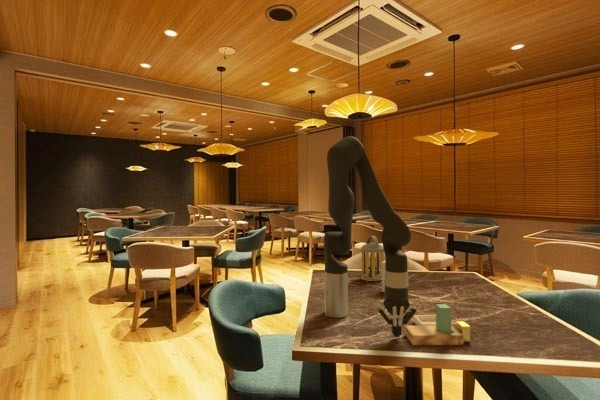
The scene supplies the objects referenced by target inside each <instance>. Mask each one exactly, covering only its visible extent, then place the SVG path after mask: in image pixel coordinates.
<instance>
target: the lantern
mask: <svg viewBox="0 0 600 400" xmlns="http://www.w3.org/2000/svg"><path fill="white" fill-rule="evenodd" d="M372 239H373V242H371V240H372ZM360 252H361V275H360V277H361V278H363V279H367V280H382V275H381V263H382V262H383V261H385V253H384V249H383V244H379V240H378V238H377V236H375V235H369V236H368V237H367V239H366V243H365V244H363V245H362V246H361V247H360ZM369 253H370V256H369ZM375 254H376V256H375ZM369 257H370V258H369ZM360 277H359V278H360Z"/></svg>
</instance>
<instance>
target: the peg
mask: <svg viewBox="0 0 600 400" xmlns="http://www.w3.org/2000/svg"><path fill="white" fill-rule="evenodd" d="M435 315H436V328H437V329H438V330H439V331H440V332H441V333H451V325H452V307H450V306H449V305H448V304H445V303H443V304H442V303H440V304H439V303H438V304H436V303H435Z"/></svg>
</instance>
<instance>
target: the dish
mask: <svg viewBox="0 0 600 400" xmlns="http://www.w3.org/2000/svg"><path fill="white" fill-rule="evenodd" d="M412 319H413V320H412V322H413V323H414V324H415V325H436V314H414V315H413V317H412Z"/></svg>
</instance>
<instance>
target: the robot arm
mask: <svg viewBox="0 0 600 400" xmlns="http://www.w3.org/2000/svg"><path fill="white" fill-rule="evenodd" d="M326 154H327V155H326V162H327V163H326V164H327V172H328V173H327V175H328V208H327V209H328V214H329V216H330V218H331V219H332V221H333V222H334V223H335V224H336V225H337V226H338V227H339V228H340V230H341V231H327V232H325V233H324V235H323V250H324V251H323V252H324V290H323V293H324V294H323V295H324V315H325V317H329V318H333V319H334V318H336V319H339V318H346V317H348V316H349V291H348V290H349V289H348V288H349V287H348V286H349V282H348V281H349V279H348V278H349V276H348V275H349V273H348V270H349V269H348V264H347V263H345V262H342V261H339V260H337V259H336V258H334V257H333V256H335V255H336V256H339V255H340V256H342V255H348V254H349V253H350V251H351V249H352V230H353V229H352V228H353V227H352V226H353V225H352V224H353V219H354V218H353V217H354V210H355V200H356V199H355V195H354V192H353V190H352V189H351V188H350V186H349V183H348V181H349V174H350V172H351V169H352V168H354V169H355V171H356V173H357V175H358V178H359V181H360V187H361V193H362V199H363V203H364V205H365V206H366V208H367V210H368V212H369V213H370V215H371V216H372V218H373V220H374V221H375V222H376V223H377V224H379V225H381V226H382V228H383V229H382V232H381V242H382V246H383V249H384V261H385V280H384V283H385V292H384V300H383V303H382V305H381V306H378V307H377V308H376V310H377V312H378V313H379V314H380V315H381V316H382V318H383V319H384V320H385V322H386V324H388V325H391V334H392V336H394V338H400V336H402V326H403V325H407V324H408V323H409V322H410V321H411V319H413V315H416V313H417V309H416V308H415V307H414V306H412V305H411V303H410V301H409V272H408V256H407V254H406V253H405V252H404V251H403V247H405V246H408V245H409V244H410V243H411V240H412V232H411V229H410V228H409V226H408V224H407V223H406V222H405V221H404V220H403V219H402V217H401V216H400V215H399V214H398V213H397V212H396V211H395V210H394V207H393V206H392V205H391V203H390V201H389V200H388V198H387V196H386V194H385V192H384V191H383V189H382V188H381V185H380V184H379V182H378V178H377V176H376V173H375V172H374V168H373V166H372V163H371V161H370V158H369V157H368V154H367V152H366V149H365V147H364V145H363V143H362V142H361V141H360V140H359V139H358V137H355V136H352V135H348V136H345V137H343V138H342V139H341V140H339V141H337V142H336V143H334V144H333V145H332V146H330V147H329V149H328V151H327V153H326ZM386 311H387V312H388V314H389V315H390V318H389V316H388V315H387V314H386Z"/></svg>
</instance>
